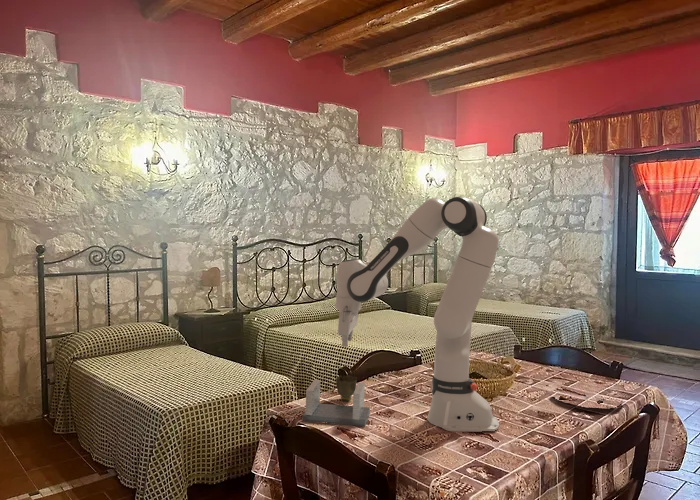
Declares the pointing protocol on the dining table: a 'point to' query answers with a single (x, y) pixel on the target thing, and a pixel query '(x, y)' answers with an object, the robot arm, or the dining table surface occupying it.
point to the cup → (346, 386)
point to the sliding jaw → (312, 397)
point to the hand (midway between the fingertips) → (347, 343)
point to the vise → (342, 411)
